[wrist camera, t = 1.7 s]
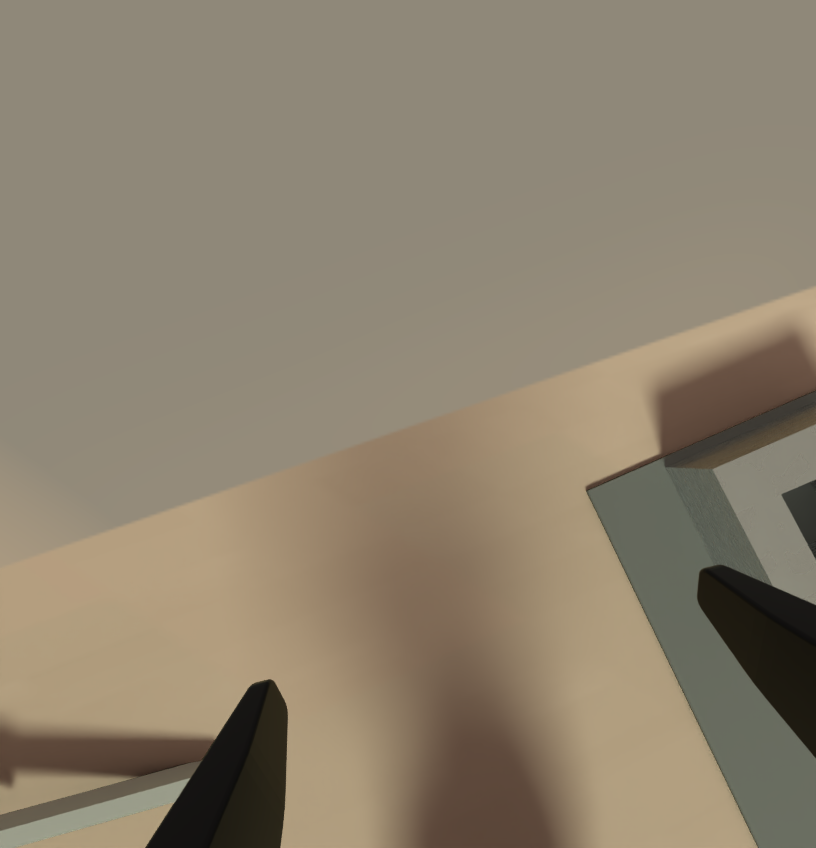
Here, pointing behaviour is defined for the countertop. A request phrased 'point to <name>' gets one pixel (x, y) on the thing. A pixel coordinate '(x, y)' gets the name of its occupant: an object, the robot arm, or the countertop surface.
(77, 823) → the caliper
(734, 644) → the robot arm
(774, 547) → the square peg hole block
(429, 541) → the countertop surface
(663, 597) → the mat
